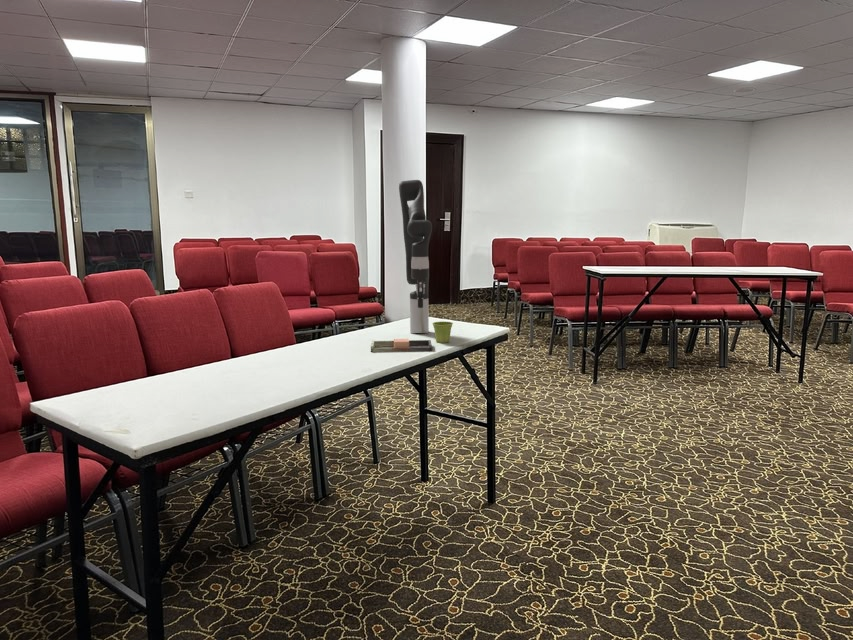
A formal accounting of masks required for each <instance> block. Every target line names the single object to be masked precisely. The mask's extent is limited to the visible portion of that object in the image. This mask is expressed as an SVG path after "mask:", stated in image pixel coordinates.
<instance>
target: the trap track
mask: <svg viewBox="0 0 853 640" xmlns="http://www.w3.org/2000/svg"><path fill="white" fill-rule="evenodd" d="M374 346H394V340H372V341H371V344H370V353H382V352H383V353H387V352H388V353H389V352H391V353H393V351H401V352H432V350H433V344H432V341H431V339H418V340H417V339H416V340H415V339H413V340H410V339H409V347H406V348H394V347H374Z"/></svg>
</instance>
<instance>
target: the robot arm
mask: <svg viewBox="0 0 853 640" xmlns="http://www.w3.org/2000/svg"><path fill="white" fill-rule="evenodd" d="M398 185H399V187H398V190H399V191H398V192H399V200H400V206H401V215H402V229H403V231H402V232H403V241H404V250H405V269H406V270H405V271H406V282H407V283H408V285H412V286H413V285H415V288H416V289H415V290H414V291H411V292H409V319H410V320H409V325H410V326H409V328H410V332H411V333H410V334H413V333H425V334H428V333H429V332H430V330H429V329H430V327H429V326H430V325H429V322H430V321H429V319H430V318H429V317H430V316H429V314H430V313H429V307H430V306H429V285H430V284H429V282H430V260H429V244H430V240H431V235H432V232H433V223H432V222H431V221H430V220H429V219H426V218H427V216H426V211H425V195H424V194H425V192H424V190H425V189H424V184H423V183H422V181H421V180H420V179H412V180H411V179H410V180H402V181H400V182H399V183H398ZM408 202H412V203H411V204H410V205H409V204H408Z"/></svg>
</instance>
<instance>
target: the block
mask: <svg viewBox="0 0 853 640" xmlns="http://www.w3.org/2000/svg"><path fill="white" fill-rule="evenodd" d="M409 340H410V339H409V338H393V341H394V347H393V348H406V347H410V346H409Z"/></svg>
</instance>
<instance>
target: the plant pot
mask: <svg viewBox="0 0 853 640" xmlns="http://www.w3.org/2000/svg"><path fill="white" fill-rule="evenodd" d="M431 324H432V326H433V328H434V334H435V342H436V343H441V344H444V343H449V342H450V339H451V331H452V327H453V325H454V323H453V322H451V321H435V322H432V323H431Z"/></svg>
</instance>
